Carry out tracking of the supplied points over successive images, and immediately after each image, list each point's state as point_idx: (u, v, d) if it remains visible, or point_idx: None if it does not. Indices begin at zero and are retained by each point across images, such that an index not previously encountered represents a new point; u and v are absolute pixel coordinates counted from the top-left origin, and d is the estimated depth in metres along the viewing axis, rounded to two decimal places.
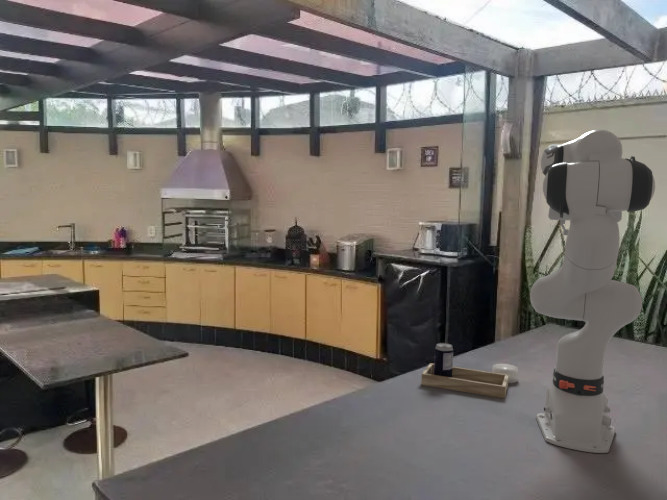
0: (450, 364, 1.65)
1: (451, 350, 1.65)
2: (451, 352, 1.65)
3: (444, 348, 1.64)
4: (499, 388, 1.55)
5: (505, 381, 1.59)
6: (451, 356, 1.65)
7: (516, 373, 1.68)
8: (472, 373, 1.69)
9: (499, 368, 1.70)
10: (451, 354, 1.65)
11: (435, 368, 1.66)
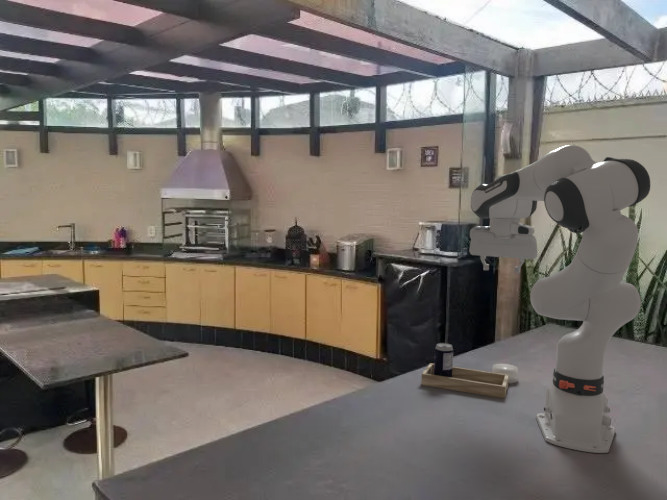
0: (450, 364, 1.65)
1: (451, 350, 1.65)
2: (451, 352, 1.65)
3: (444, 348, 1.64)
4: (499, 388, 1.55)
5: (505, 381, 1.59)
6: (451, 356, 1.65)
7: (516, 373, 1.68)
8: (472, 373, 1.69)
9: (499, 368, 1.70)
10: (451, 354, 1.65)
11: (435, 368, 1.66)
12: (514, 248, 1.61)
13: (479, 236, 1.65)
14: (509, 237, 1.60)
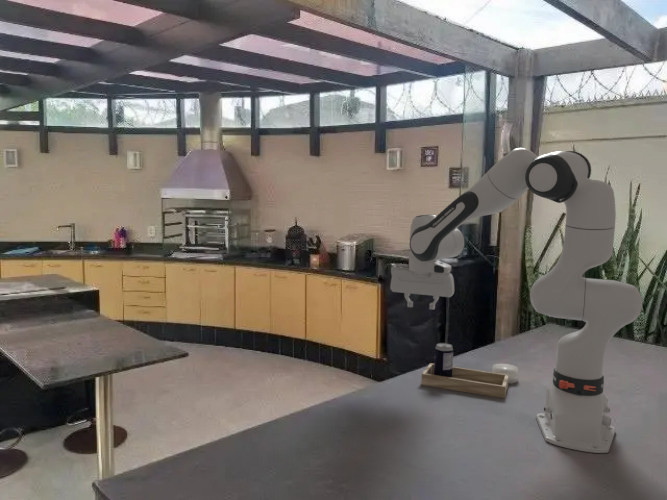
0: (450, 364, 1.65)
1: (451, 350, 1.65)
2: (451, 352, 1.65)
3: (444, 348, 1.64)
4: (499, 388, 1.55)
5: (505, 381, 1.59)
6: (451, 356, 1.65)
7: (516, 373, 1.68)
8: (472, 373, 1.69)
9: (499, 368, 1.70)
10: (451, 354, 1.65)
11: (435, 368, 1.66)
12: (431, 286, 1.65)
13: (399, 274, 1.68)
14: (426, 275, 1.64)
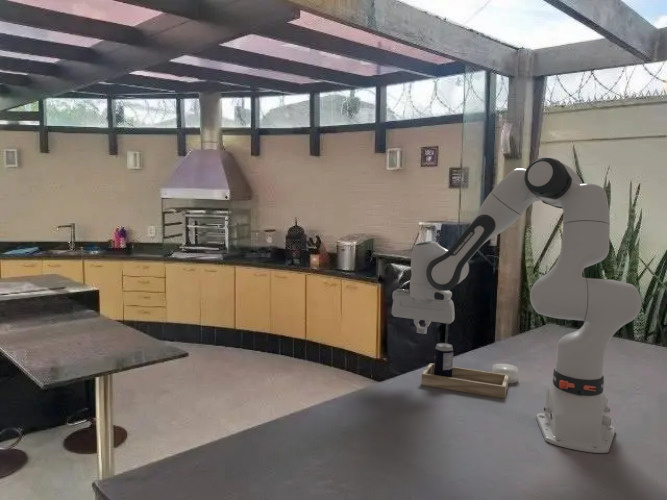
0: (450, 364, 1.65)
1: (451, 350, 1.65)
2: (451, 352, 1.65)
3: (444, 348, 1.64)
4: (499, 388, 1.55)
5: (505, 381, 1.59)
6: (451, 356, 1.65)
7: (516, 373, 1.68)
8: (472, 373, 1.69)
9: (499, 368, 1.70)
10: (451, 354, 1.65)
11: (435, 368, 1.66)
12: (432, 312, 1.66)
13: (400, 299, 1.70)
14: (427, 302, 1.66)
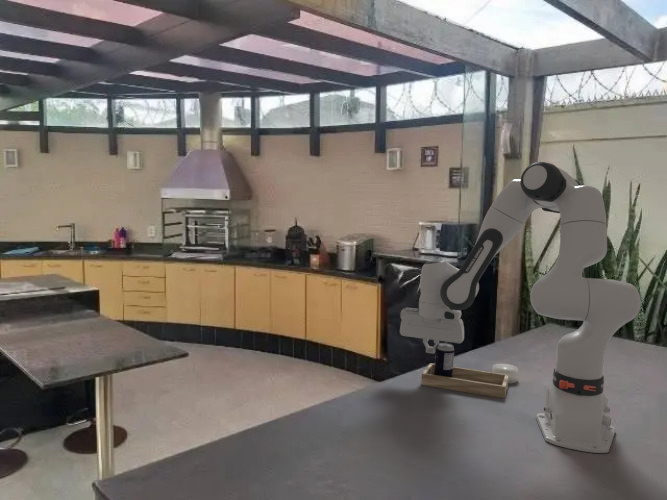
0: (451, 364, 1.65)
1: (452, 350, 1.64)
2: (452, 352, 1.64)
3: (445, 348, 1.64)
4: (499, 388, 1.55)
5: (505, 381, 1.59)
6: (452, 356, 1.65)
7: (516, 373, 1.68)
8: (472, 373, 1.69)
9: (499, 368, 1.70)
10: (452, 354, 1.65)
11: (435, 368, 1.66)
12: (441, 331, 1.64)
13: (409, 318, 1.68)
14: (436, 321, 1.64)
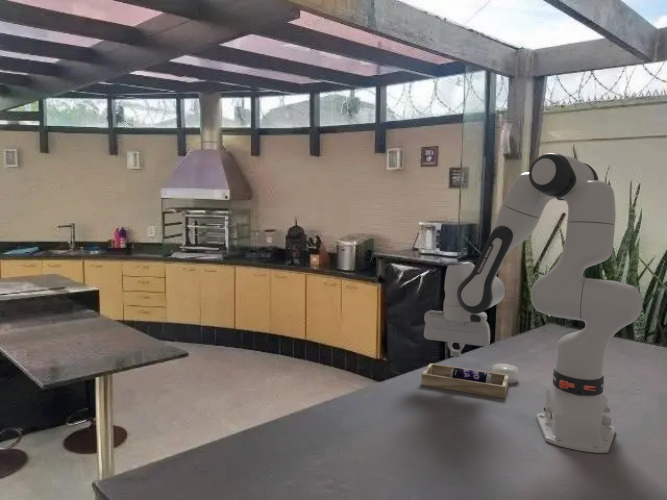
0: None
1: None
2: None
3: None
4: (499, 388, 1.55)
5: (505, 381, 1.59)
6: None
7: (516, 373, 1.68)
8: None
9: (499, 368, 1.70)
10: None
11: (464, 379, 1.60)
12: (467, 334, 1.61)
13: (433, 321, 1.65)
14: (462, 324, 1.61)
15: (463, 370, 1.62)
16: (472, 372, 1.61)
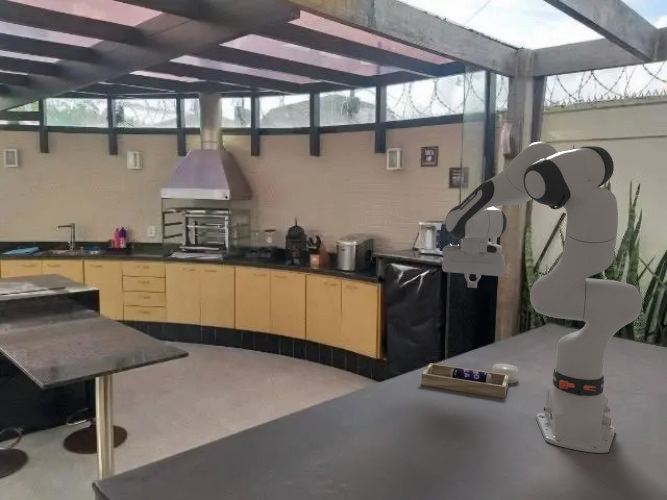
0: None
1: None
2: None
3: None
4: (499, 388, 1.55)
5: (505, 381, 1.59)
6: None
7: (516, 373, 1.68)
8: None
9: (499, 368, 1.70)
10: None
11: (464, 379, 1.60)
12: (483, 265, 1.70)
13: (451, 254, 1.74)
14: (479, 255, 1.70)
15: (463, 370, 1.62)
16: (472, 372, 1.61)
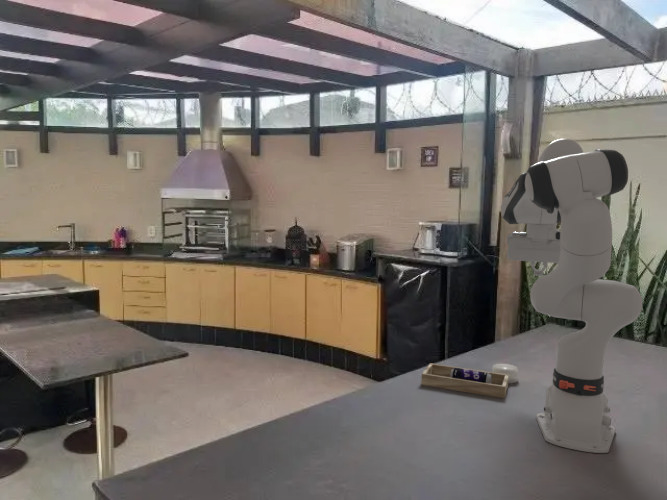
0: None
1: None
2: None
3: None
4: (499, 388, 1.55)
5: (505, 381, 1.59)
6: None
7: (516, 373, 1.68)
8: None
9: (499, 368, 1.70)
10: None
11: (464, 379, 1.60)
12: (551, 253, 1.67)
13: (516, 242, 1.71)
14: (546, 242, 1.66)
15: (463, 370, 1.62)
16: (472, 372, 1.61)
